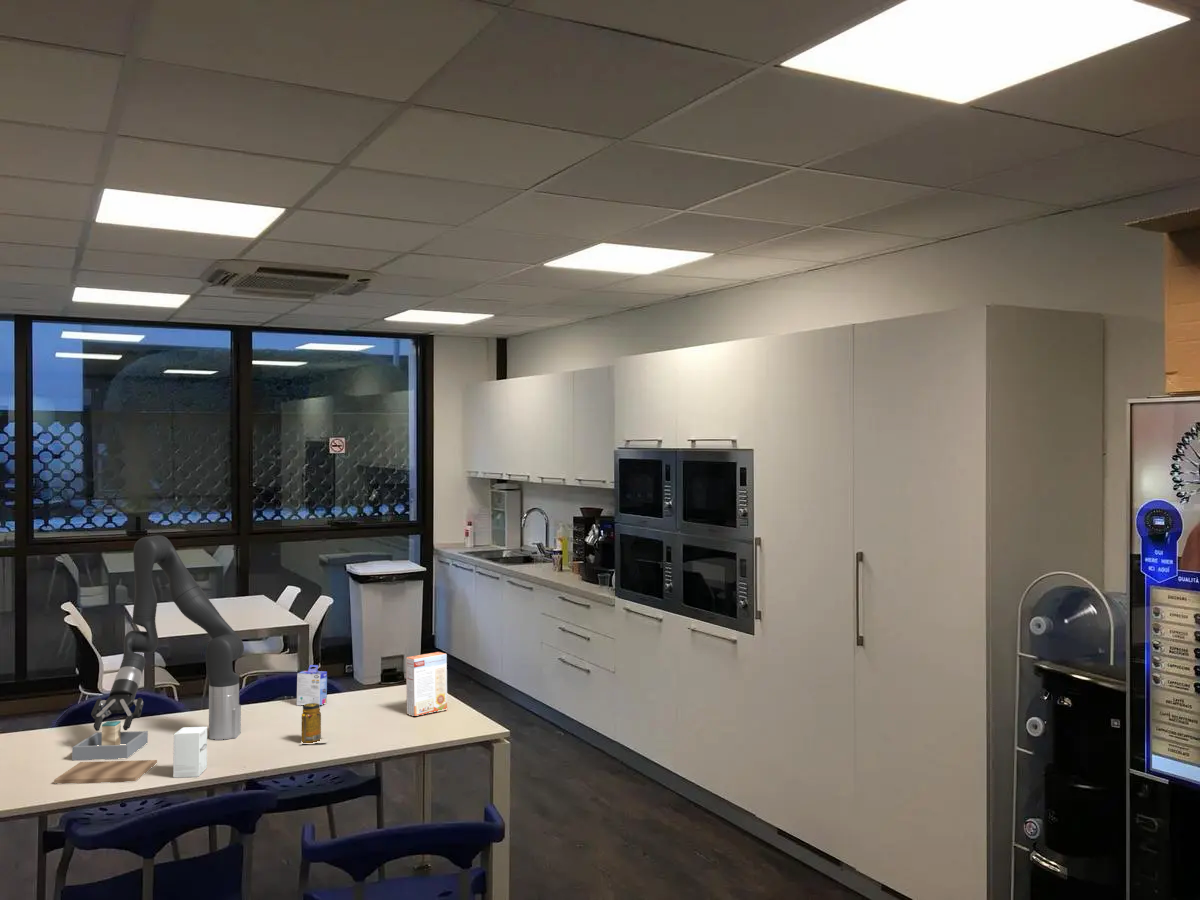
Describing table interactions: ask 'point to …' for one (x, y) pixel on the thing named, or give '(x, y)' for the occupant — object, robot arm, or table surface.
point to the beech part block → (111, 733)
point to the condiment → (311, 723)
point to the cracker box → (426, 683)
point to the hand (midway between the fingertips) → (110, 729)
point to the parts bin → (109, 746)
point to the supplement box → (190, 752)
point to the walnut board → (106, 771)
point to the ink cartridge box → (312, 686)
